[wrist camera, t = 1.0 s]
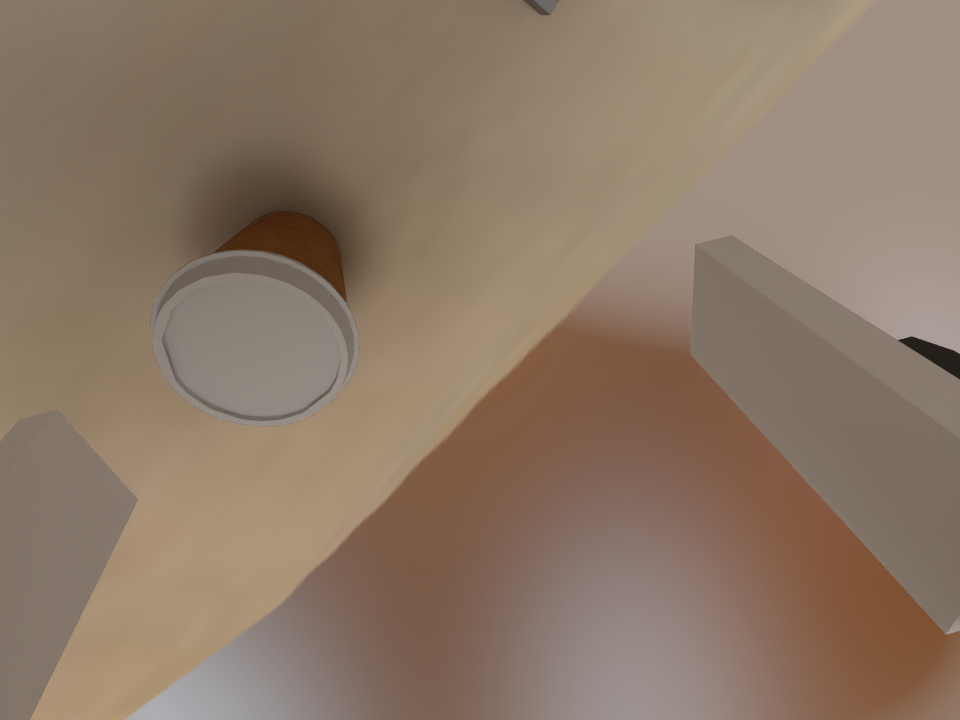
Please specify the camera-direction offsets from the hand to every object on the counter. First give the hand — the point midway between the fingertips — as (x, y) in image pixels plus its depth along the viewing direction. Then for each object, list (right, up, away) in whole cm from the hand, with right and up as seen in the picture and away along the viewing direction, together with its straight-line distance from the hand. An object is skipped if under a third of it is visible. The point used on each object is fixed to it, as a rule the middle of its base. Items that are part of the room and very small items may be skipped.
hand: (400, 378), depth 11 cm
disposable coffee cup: (-11, +7, +23) cm, 27 cm away
